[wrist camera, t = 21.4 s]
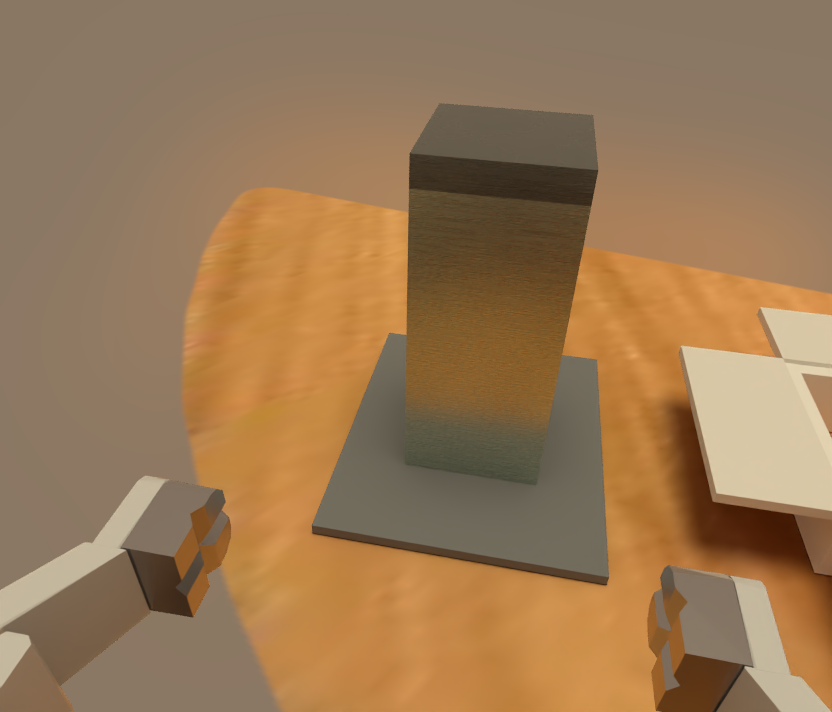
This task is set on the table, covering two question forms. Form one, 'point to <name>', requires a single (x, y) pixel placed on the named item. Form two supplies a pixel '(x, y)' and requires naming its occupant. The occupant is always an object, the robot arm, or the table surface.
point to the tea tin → (491, 283)
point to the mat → (475, 485)
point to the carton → (770, 424)
